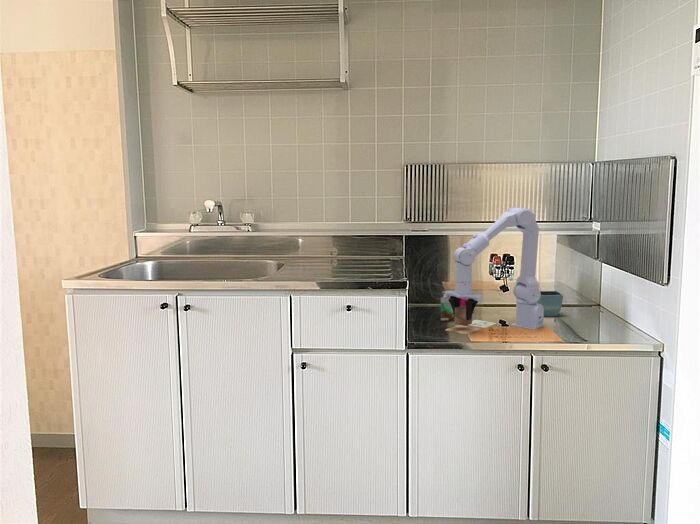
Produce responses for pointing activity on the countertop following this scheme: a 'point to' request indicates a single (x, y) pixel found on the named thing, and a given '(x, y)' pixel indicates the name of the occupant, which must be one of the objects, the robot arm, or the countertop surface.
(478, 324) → the tile
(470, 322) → the block
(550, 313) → the flower pot
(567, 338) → the countertop surface
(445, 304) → the food container
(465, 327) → the coaster
